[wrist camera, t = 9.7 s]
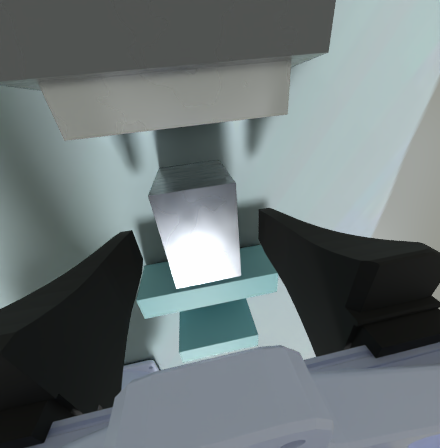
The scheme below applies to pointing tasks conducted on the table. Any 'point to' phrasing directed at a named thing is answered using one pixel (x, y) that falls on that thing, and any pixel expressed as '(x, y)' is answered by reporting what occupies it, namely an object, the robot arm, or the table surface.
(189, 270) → the steel block
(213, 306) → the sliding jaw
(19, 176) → the table surface
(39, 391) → the robot arm
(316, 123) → the table surface
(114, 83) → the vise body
